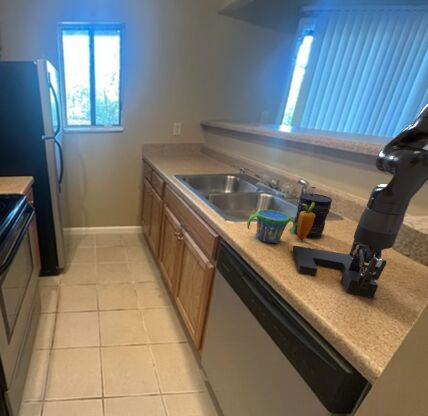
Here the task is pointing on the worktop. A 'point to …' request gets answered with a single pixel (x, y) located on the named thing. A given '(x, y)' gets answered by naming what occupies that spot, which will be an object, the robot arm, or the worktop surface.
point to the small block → (351, 280)
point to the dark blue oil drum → (319, 210)
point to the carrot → (305, 221)
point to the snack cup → (271, 225)
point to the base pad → (319, 260)
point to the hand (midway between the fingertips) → (356, 280)
